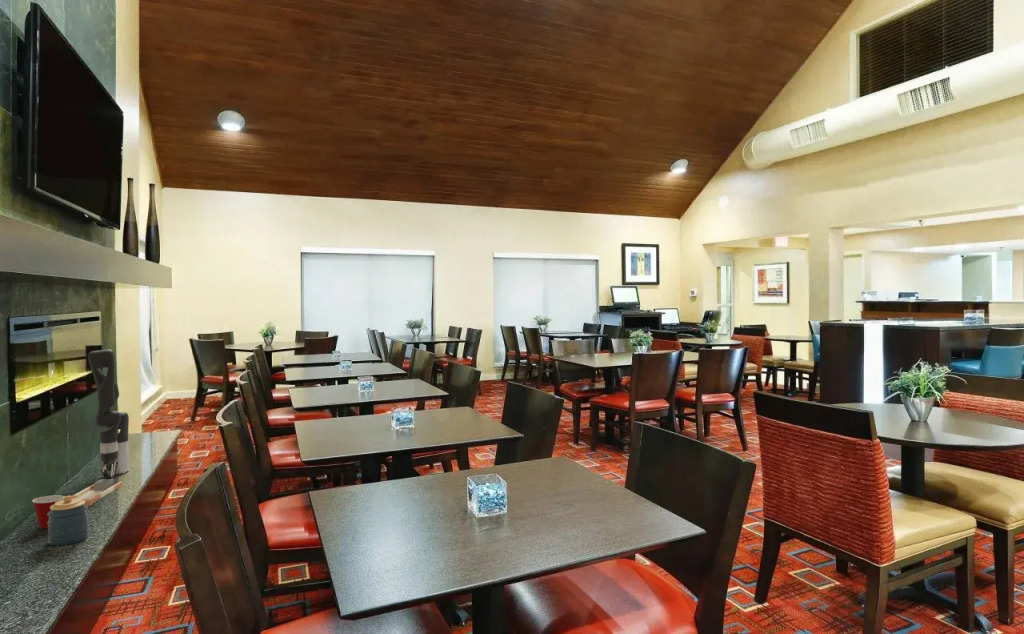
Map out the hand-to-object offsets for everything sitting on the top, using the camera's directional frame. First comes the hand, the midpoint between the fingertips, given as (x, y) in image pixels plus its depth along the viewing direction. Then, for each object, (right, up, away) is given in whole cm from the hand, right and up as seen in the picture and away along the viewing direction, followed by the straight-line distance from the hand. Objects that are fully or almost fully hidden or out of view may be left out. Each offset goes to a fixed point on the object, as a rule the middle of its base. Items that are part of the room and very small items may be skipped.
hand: (110, 483), depth 299 cm
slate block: (+1, -1, -5) cm, 5 cm away
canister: (+30, -4, -67) cm, 73 cm away
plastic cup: (+10, -3, -52) cm, 53 cm away
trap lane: (+2, -2, -14) cm, 14 cm away
